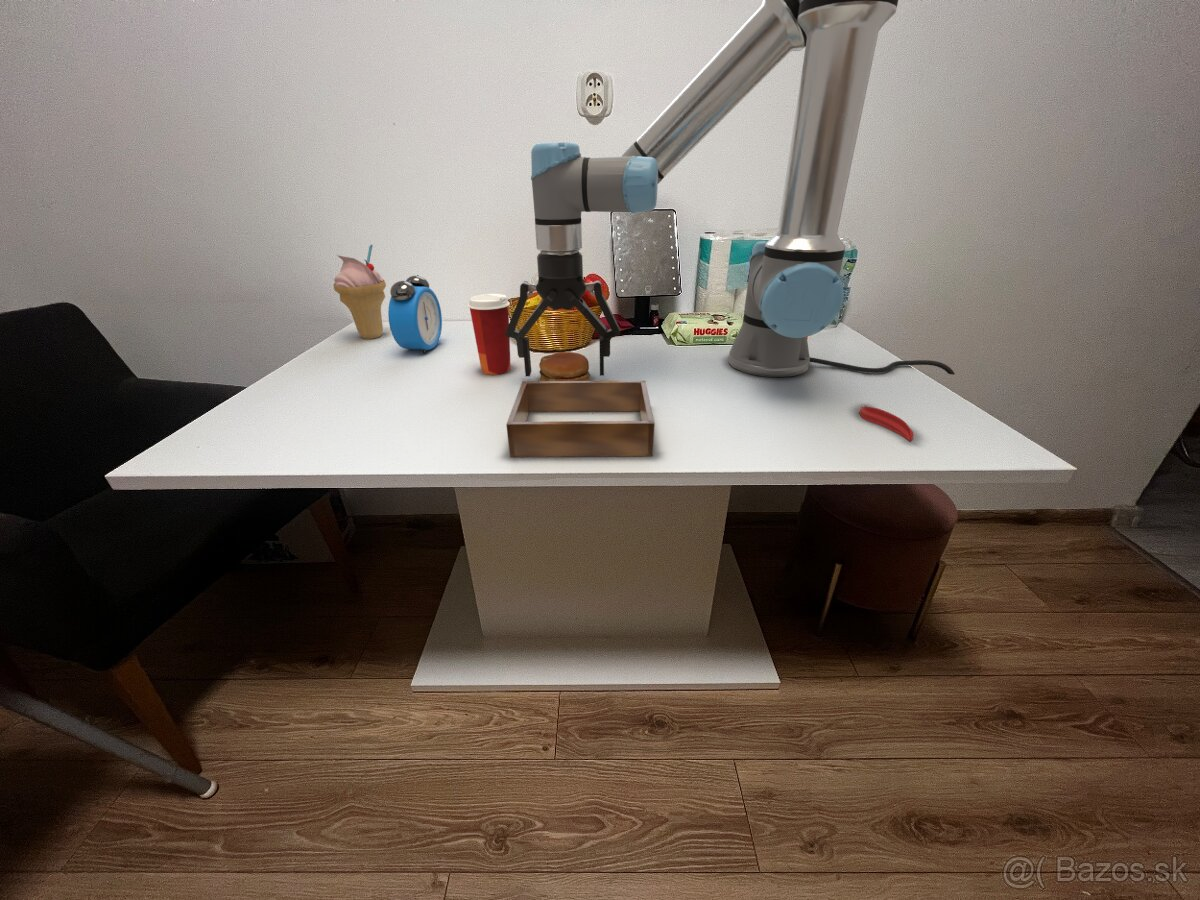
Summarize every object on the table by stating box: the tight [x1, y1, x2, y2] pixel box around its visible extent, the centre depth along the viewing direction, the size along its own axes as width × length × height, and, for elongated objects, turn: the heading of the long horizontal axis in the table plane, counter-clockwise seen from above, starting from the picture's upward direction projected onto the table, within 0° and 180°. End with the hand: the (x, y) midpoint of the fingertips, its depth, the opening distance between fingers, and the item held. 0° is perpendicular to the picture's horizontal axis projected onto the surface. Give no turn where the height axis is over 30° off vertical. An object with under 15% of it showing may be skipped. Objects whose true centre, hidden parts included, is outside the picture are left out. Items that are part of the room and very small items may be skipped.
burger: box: [538, 351, 591, 381], centre depth 94 cm, size 10×9×5 cm
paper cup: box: [467, 293, 511, 376], centre depth 97 cm, size 8×8×14 cm
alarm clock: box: [387, 274, 443, 355], centre depth 109 cm, size 13×6×15 cm, turn 173°
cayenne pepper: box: [859, 405, 915, 442], centre depth 78 cm, size 12×5×2 cm, turn 0°
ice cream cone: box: [333, 244, 387, 340], centre depth 117 cm, size 11×11×20 cm
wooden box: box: [506, 380, 655, 458], centre depth 75 cm, size 20×16×5 cm
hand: (565, 373), depth 94 cm, fingers open, 13 cm apart
